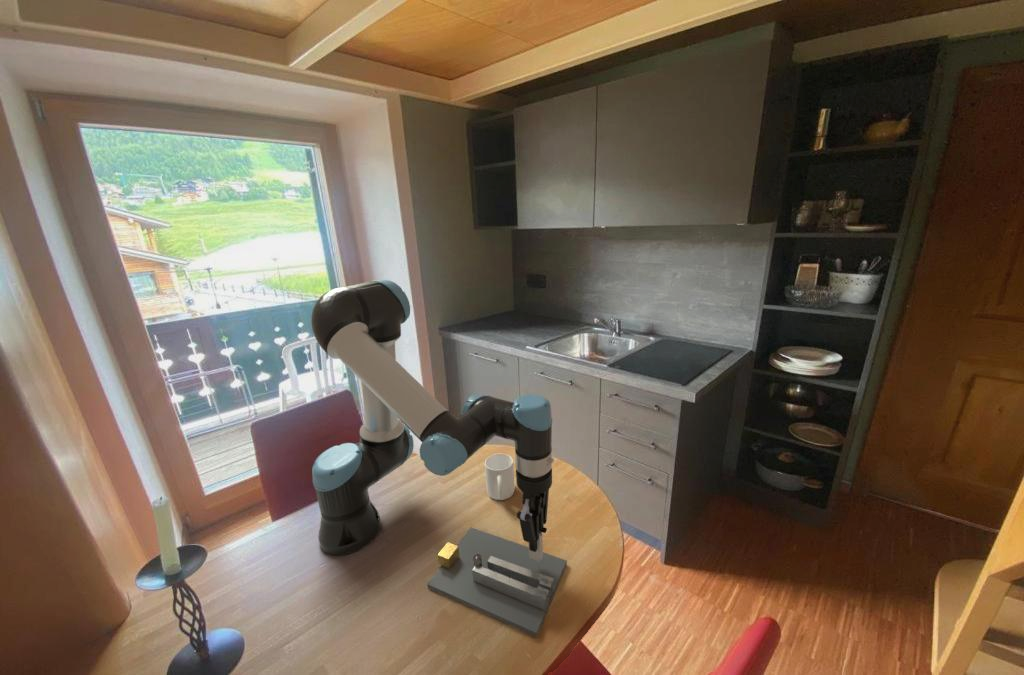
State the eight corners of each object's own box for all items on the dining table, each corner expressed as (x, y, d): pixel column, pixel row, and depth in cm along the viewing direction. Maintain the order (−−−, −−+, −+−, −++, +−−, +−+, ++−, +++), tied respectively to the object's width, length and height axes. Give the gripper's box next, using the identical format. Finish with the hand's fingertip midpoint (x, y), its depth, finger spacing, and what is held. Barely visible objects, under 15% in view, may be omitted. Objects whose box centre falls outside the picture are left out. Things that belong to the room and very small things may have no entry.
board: (427, 588, 86) (427, 583, 86) (470, 530, 101) (470, 527, 101) (536, 637, 75) (536, 632, 74) (566, 564, 90) (566, 560, 90)
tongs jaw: (486, 574, 87) (485, 563, 86) (491, 566, 89) (490, 555, 88) (550, 598, 81) (550, 587, 80) (554, 589, 83) (553, 578, 82)
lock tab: (438, 564, 90) (437, 554, 89) (448, 551, 93) (447, 542, 93) (449, 568, 89) (448, 559, 88) (459, 555, 92) (458, 546, 91)
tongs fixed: (469, 580, 86) (468, 564, 85) (477, 568, 89) (475, 552, 88) (545, 611, 78) (544, 594, 77) (551, 597, 81) (550, 581, 80)
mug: (516, 509, 108) (514, 477, 105) (486, 511, 108) (484, 479, 105) (513, 481, 120) (512, 452, 117) (487, 483, 119) (484, 454, 116)
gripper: (538, 492, 74) (540, 587, 81) (561, 455, 85) (561, 541, 92) (503, 481, 77) (508, 574, 84) (530, 447, 88) (532, 531, 95)
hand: (535, 557), depth 88 cm, fingers closed
